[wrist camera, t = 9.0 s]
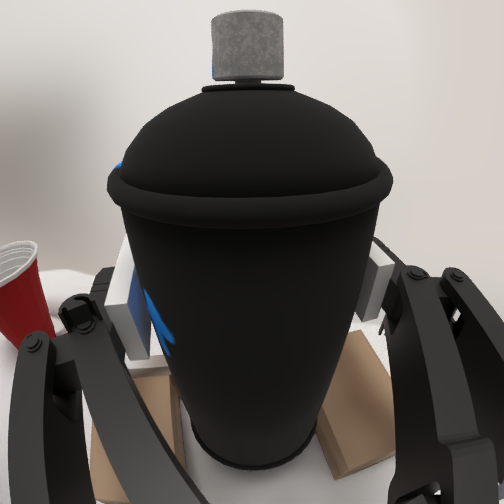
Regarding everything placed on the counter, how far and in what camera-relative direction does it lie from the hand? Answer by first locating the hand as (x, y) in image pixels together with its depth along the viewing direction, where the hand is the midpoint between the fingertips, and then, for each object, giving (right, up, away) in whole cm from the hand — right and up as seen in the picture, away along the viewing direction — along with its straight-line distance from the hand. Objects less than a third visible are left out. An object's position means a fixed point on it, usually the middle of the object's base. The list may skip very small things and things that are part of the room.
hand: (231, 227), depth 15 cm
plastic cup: (-26, -12, +13) cm, 31 cm away
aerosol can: (+1, -12, +2) cm, 12 cm away
